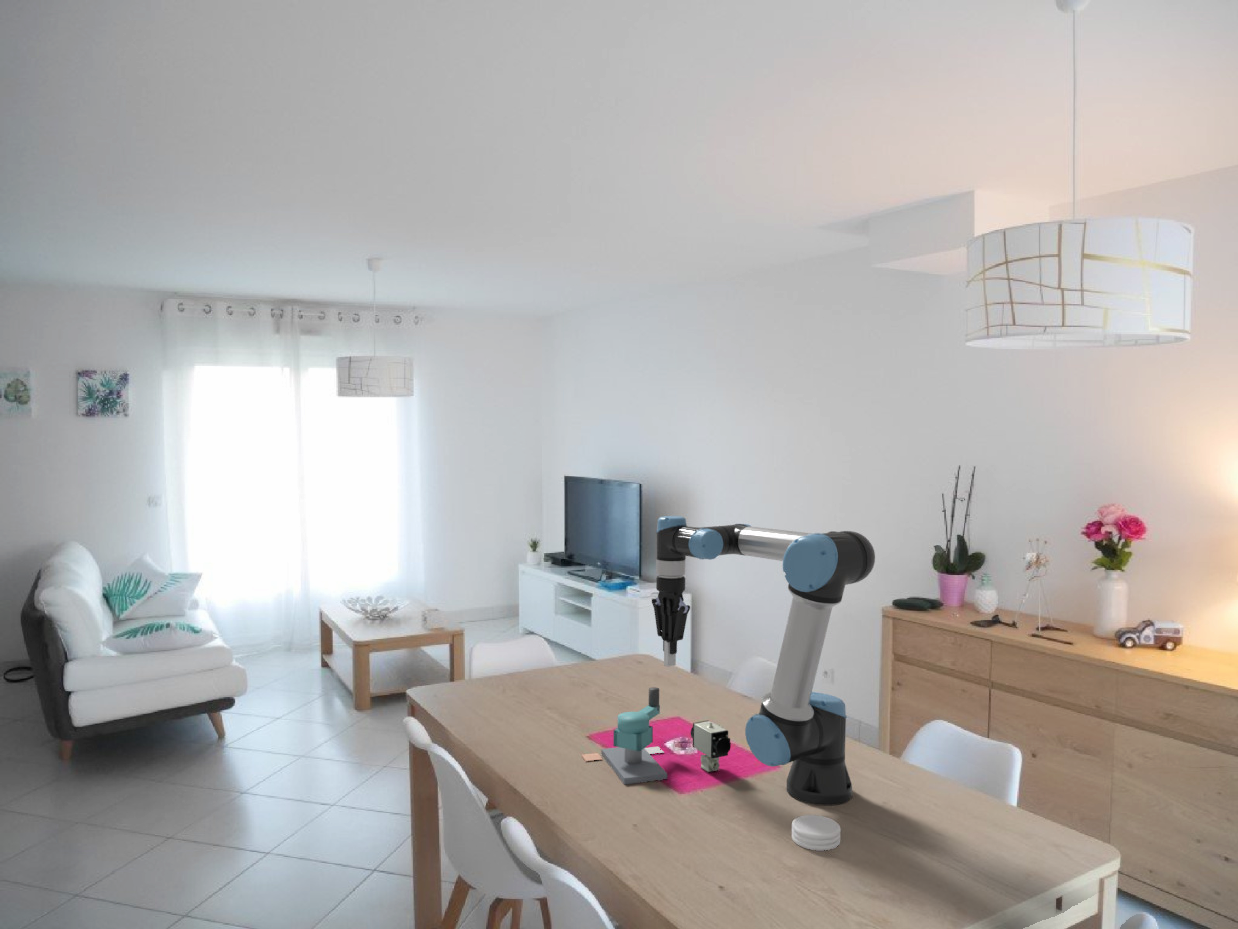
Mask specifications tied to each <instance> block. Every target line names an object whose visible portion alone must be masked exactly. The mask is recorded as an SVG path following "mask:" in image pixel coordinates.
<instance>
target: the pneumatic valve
mask: <svg viewBox="0 0 1238 929" xmlns="http://www.w3.org/2000/svg"><path fill="white" fill-rule="evenodd" d="M690 737H691V739H692V747H693V748H694V749H696V750H697V751H699V752H701V753H702V754H701V755H700V763H701V765H700V769H702V770H703V771H706V772H707V773H709V772H710V773H711V772H714V771H716V772H718V771H720V762H719V761H720V758H723V757H727V756H729V751H731V747H732V743H731V738H730V737H729V730H727V729H725V728H724V726H722V725H720V724H716V723H715V722H713V721H710V720H703V721H697V722H693V723H692V727H691V729H690ZM717 770H718V771H717Z"/></svg>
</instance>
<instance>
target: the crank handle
mask: <svg viewBox="0 0 1238 929" xmlns="http://www.w3.org/2000/svg"><path fill="white" fill-rule="evenodd" d="M660 713H661V706H660V688H659V687H649V688H648V705H646V706H645V707H643V708H642V709H640V710H639V711H626V712H624V711H623V712H621V713H620V714H618V715H617V728H615V729H613V747H614V748H617V747H620V748H625V749H630V750H635V751H641V750H642V749H644V748H648V746H650V745H651V744H652V743H653V741H654V738H653V737H654V736H653V734H654V729H653V728H654V727H653V726H651V725H650V720H652V719H653V718H654V717H655V718H656V716H658V715H659V714H660Z"/></svg>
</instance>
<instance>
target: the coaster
mask: <svg viewBox="0 0 1238 929" xmlns="http://www.w3.org/2000/svg"><path fill="white" fill-rule="evenodd" d="M841 831H842V829H841V826H840V824H839V823H838V822H837V821H835V820H834V819H832V818H829V817H827V816H824V815H819V814H804V815H800V816H797V817H795V818H794V819H793V820H792V823H791V839H792V841H793V842H794V843H795V845H798V846H799V847H801V848H804V849H807V850H809V849H810V850H809V851H815V850H816V851H815V852H817V851H818V852H826V850H828V851H831V850H830V849H832V850H834V848H835V849H836V848H838V847H839V846H840V845H841ZM838 845H839V846H838ZM837 846H838V847H837ZM824 850H825V851H824Z"/></svg>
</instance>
